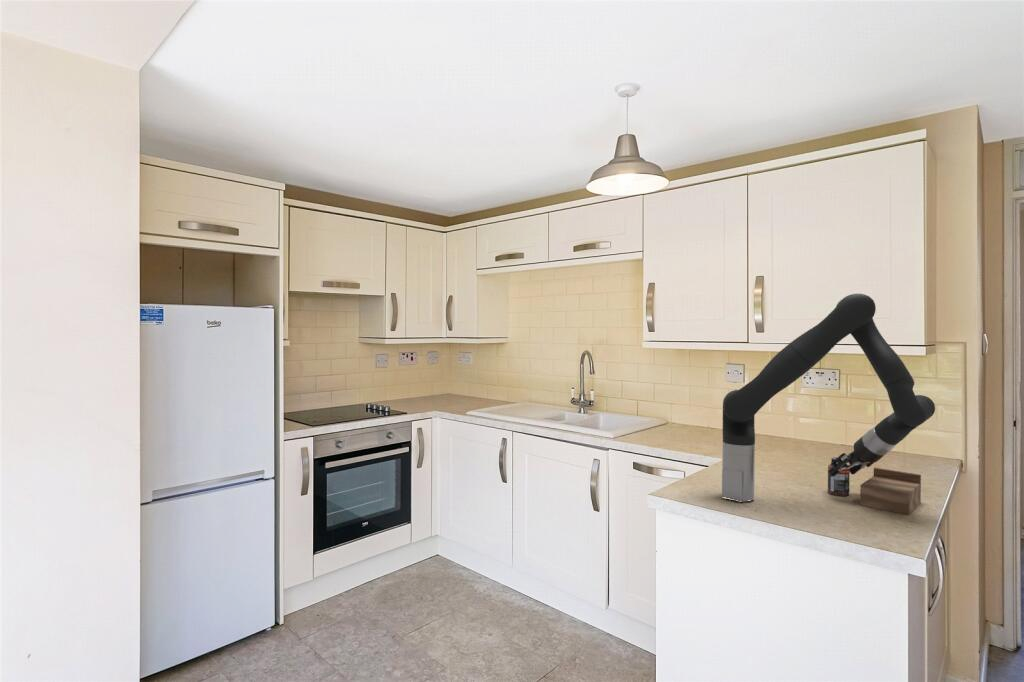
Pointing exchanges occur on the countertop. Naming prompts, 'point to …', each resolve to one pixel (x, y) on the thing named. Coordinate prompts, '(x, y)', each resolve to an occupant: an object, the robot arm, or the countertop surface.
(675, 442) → the countertop surface
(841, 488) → the supplement bottle
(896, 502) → the walnut shelf
